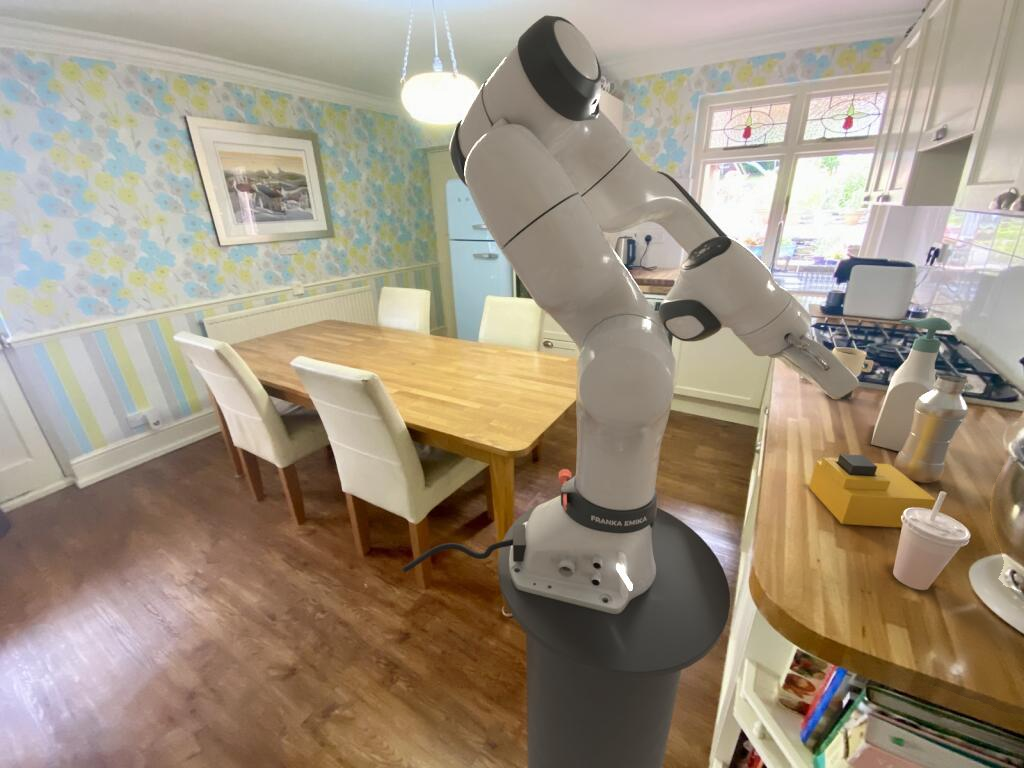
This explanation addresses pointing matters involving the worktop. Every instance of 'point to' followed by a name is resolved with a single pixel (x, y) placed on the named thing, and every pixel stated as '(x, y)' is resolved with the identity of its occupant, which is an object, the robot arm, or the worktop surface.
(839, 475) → the stepped yellow pedestal
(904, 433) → the soap bottle
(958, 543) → the smoothie
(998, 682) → the worktop surface
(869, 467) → the block
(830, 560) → the worktop surface
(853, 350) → the character mug
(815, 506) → the worktop surface
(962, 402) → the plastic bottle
